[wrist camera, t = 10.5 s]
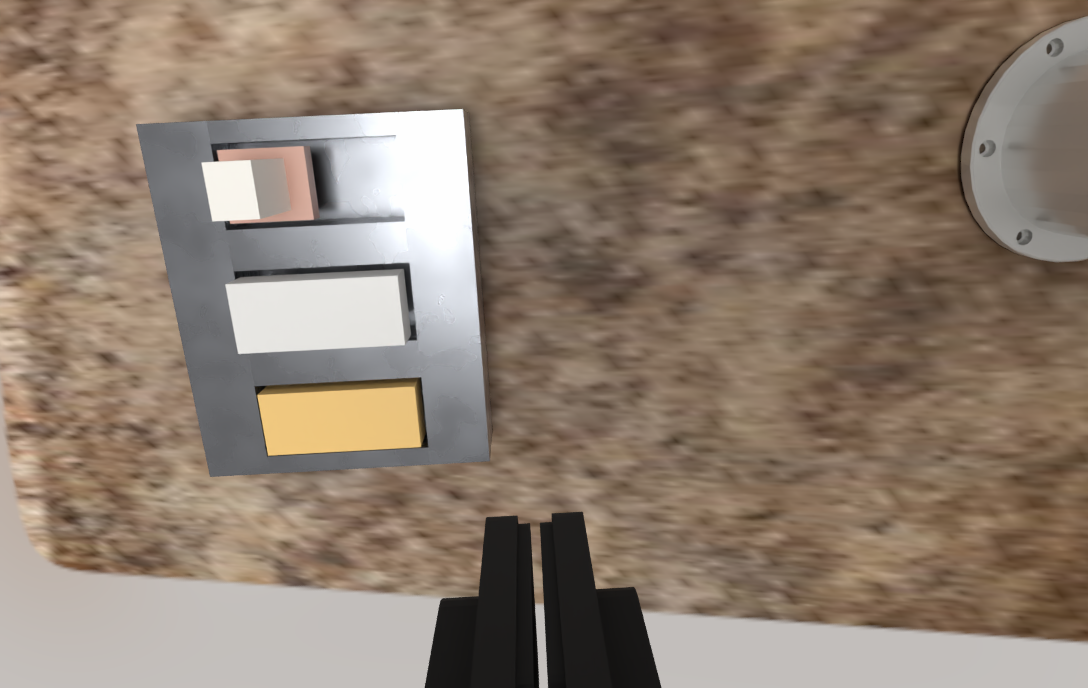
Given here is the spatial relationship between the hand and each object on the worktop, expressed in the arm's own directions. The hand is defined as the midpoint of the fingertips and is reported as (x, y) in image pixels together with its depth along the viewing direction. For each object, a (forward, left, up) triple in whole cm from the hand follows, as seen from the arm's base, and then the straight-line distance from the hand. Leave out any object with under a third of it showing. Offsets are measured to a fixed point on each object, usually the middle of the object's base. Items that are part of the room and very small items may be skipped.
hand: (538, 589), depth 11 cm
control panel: (+10, 0, -27) cm, 29 cm away
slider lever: (+12, -6, -24) cm, 28 cm away
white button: (+10, 0, -23) cm, 25 cm away
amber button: (+10, +6, -24) cm, 27 cm away
